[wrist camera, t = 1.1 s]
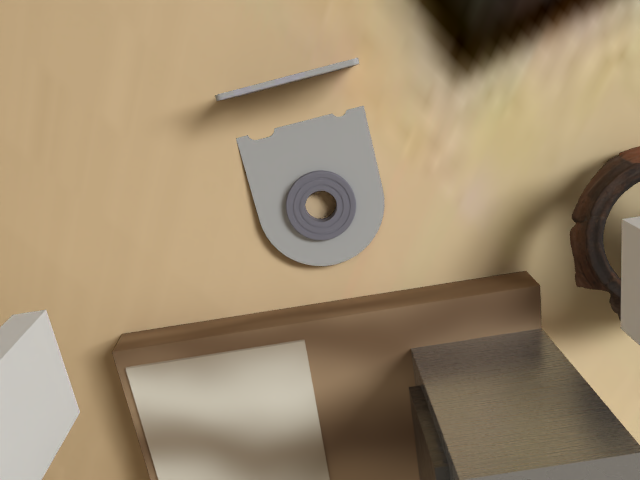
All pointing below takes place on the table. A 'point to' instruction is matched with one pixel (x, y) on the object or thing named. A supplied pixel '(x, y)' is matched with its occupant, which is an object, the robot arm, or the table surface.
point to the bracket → (315, 180)
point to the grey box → (513, 414)
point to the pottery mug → (601, 224)
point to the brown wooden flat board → (304, 382)
